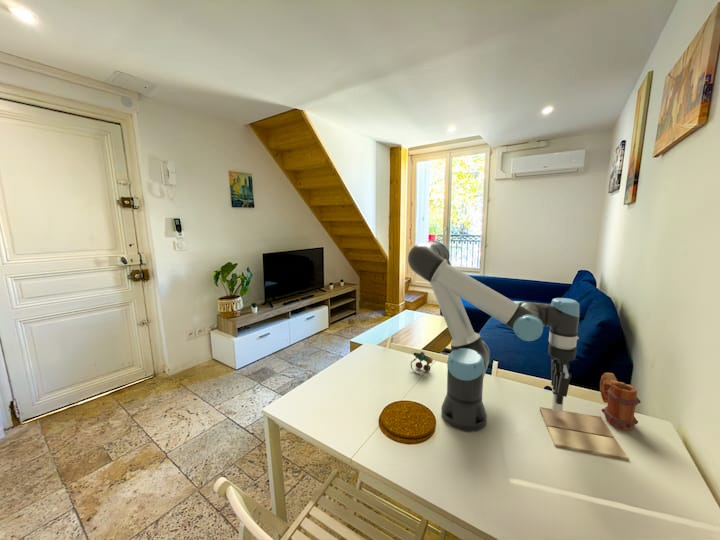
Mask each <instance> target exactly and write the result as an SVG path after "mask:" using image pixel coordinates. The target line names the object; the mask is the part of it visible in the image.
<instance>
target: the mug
mask: <svg viewBox="0 0 720 540" xmlns="http://www.w3.org/2000/svg"><path fill="white" fill-rule="evenodd" d="M599 391H600V392H599V393H600V396H601V399H602V401H603V403H605V404H607V406H605V407H604V408H601V412H602V413H603V415H604V416H605V417H604V418H605V419H606V421H607V423H608V424H610V425H612V426H613V427H614V428H617V429H620V430H623V431H631V430H632V429H633V427H635V426H636V425H638V423H639V421H638V420H637V418H636V417H635V411H636V407H637V406H638V404H641V400H640V399H639V398H638V390H637V389H636V387H634V386H633V385H631V384H627V383H625V382H622V381H618V379H617V378H616V376H615V374H614V373H613V372H604V373H603V374H602V375H601V378H600V381H599Z"/></svg>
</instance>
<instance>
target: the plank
mask: <svg viewBox="0 0 720 540" xmlns="http://www.w3.org/2000/svg"><path fill="white" fill-rule="evenodd" d="M539 412H540V415H541V417H542V418H543V421H544V423H545V427H546V428H547V426H548V427H554V428H559V429H565V430H571V431H576V432H582V433H588V434H593V435H599V436H604V437H610V438H615V436H614V435H613V433H612V431H611V430H610V429H609V427H608V426H607V424H606V423H605V420H604V419H603V418H602V416H597V415H593V414H585V413H579V412H573V411H566V410H562V412H558V411H553V410H552V408H547V407H541V406H539Z"/></svg>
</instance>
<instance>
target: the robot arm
mask: <svg viewBox="0 0 720 540" xmlns="http://www.w3.org/2000/svg"><path fill="white" fill-rule="evenodd" d="M407 262H408V265H409V267H410V269H411V270H412V271H413V273H415V274H416V275H418V276H419V277H420V278H422V279H423V280H425V281H426V282H428V283H429V284H430V286H431V290H432V292H433V294H434V296H435V299H436V302H437V303H438V307H439V310H440V311H441V314H442V317H443V318H444V321H445V325H446V327H447V329H448V331H449V334H450V336H451V341H450V342H449V343H450V346H451V349H452V351H451V352H450V353H449V355H448V357H447V362H446V363H447V364H446V365H447V366H446V367H447V374H446V375H447V379H446V382H447V384H446V395H445V398H444V400H443V402H442V405H441V410H440V411H441V417H442V419H443V421H444V422H445V423H446V424H447V425H449V426H450V427H452V428H454V429H456V430H459V431H463V432H468V433H469V432H473V433H474V432H478V431H481V430H483V429H484V428H485V427H486V426H487V421H488V416H487V411H486V409H485V405H484V403H483V401H484V400H483V391H484V390H483V389H484V388H483V387H484V378H485V375H486V372H487V370H488V366H489V364H490V362H491V352H490V349H489V347H488V344H486V342H485V341H484V340H483V339H482V337H481V334H480V333H478V332H475V330H474V329H473V326H472V324H471V320H470V319H469V316H468V314H467V311H466V308H465V306H464V304H463V301H462V299H463V300H464V301H466V302H467V303H469V304H471V305H473V306H474V307H475V308H477V309H478V310H481V311H482V312H484V313H486V314H487V315H489V316H490V317H492V318H494V319H495V320H496V321H498V322H501V323H502V324H504V325H505V326H507V327H509V328H510V329H512V331H513V332H514V334H515V335H516V336H517V337H518V338H519V339H520V340H522V341H527V342H532V341H536V340H538V339H539V338H541V337H542V335H543V330H544V327H549V333H548V334H549V335H548V342H549V343H548V347H547V348H548V349H547V353H548V355H549V356H550V362H551V365H550V367H551V368H550V371H551V372H550V375H551V377H550V378H551V379H550V380H551V383H550V385H551V386H552V390H553V391H552V402H551V409H552V410H553V411H558V412H562V411H564V410H563V408H564V399H565V397H566V398H567V395H568V391H569V387H570V381H571V379H572V377H573V375H572V373H569V370H570V368H571V365H570V363H569V362H570V361H571V362H572V361H574V360H575V359H576V357H577V356H576V355H577V343H578V340H579V339H580V337H579V336H578V334H579V333H578V331H579V324H580V323H579V322H580V303H579V302H578V301H577V300H575V299H573V298H567V297H565V298H564V297H555V298H552V300H551V302H550V303H542V302H541V303H540V302H532V301H524V300H522V301H519V300H511V299H510V298H508V297H506V296H505V295H503V294H501V293H500V292H498V291H496V290H494V289H492V288H491V287H489V286H487V285H486V284H484V283H482V282H481V281H478V280H477V279H475V278H474V277H471V276H470V275H468V274H466V273H465V272H463V271H462V270H459V269H457V268H456V267H454V266H452V263H451V262H450V251H449V249H448V247H447V246H446V245H445V244H444V243H443V242H440V241H436V240H429V241H426V242H421V243H418V244H416V245H414V246H413V247H412V248H410V250H409V252H408V255H407Z"/></svg>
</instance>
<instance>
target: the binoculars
mask: <svg viewBox="0 0 720 540" xmlns="http://www.w3.org/2000/svg"><path fill="white" fill-rule="evenodd" d="M412 355H413V356H414V357H415V358H414V359H413V360H412V361H411V362H410V368H411V370H412V371H413V372H414V373H415V374H417V375H419V373H418V372H416V371H415V370H414V369H413V366H412V365H413V362H416V360H418V361H417V362H416V363H415V367H416V369H418V370H420V369H423V371H425V372H424V373H423V375H425V374H427V373H428V372H430V371H431V366H430V364H432V363H433V362H434V361H433V357H430V356H428V355H425V352H424V351H420V353H419V352H413V354H412ZM423 361H424V362H426V364H424V365H423V363H422V362H423Z"/></svg>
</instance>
